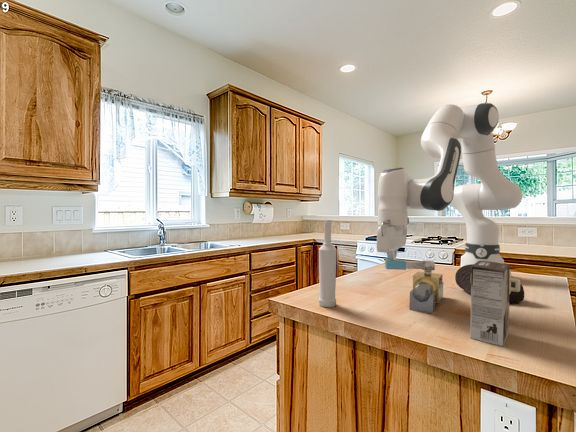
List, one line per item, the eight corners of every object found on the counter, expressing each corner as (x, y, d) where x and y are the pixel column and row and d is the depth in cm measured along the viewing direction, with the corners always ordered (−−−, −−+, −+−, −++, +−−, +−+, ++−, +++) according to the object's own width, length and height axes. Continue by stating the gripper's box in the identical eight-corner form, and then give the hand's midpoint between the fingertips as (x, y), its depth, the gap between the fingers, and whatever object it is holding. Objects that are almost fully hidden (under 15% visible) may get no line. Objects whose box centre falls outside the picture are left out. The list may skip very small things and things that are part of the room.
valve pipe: (421, 293, 103) (422, 264, 102) (445, 297, 99) (445, 266, 98) (407, 309, 86) (407, 275, 86) (434, 314, 82) (435, 278, 82)
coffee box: (476, 326, 74) (478, 260, 74) (509, 333, 70) (511, 263, 69) (468, 338, 67) (470, 265, 67) (504, 347, 63) (506, 269, 62)
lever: (432, 268, 94) (432, 260, 94) (436, 271, 90) (436, 262, 90) (384, 267, 96) (384, 259, 95) (386, 269, 92) (386, 260, 92)
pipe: (527, 281, 89) (503, 263, 103) (470, 281, 93) (454, 264, 107) (525, 311, 91) (502, 290, 105) (469, 311, 94) (454, 290, 109)
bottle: (338, 307, 88) (339, 220, 88) (321, 308, 87) (322, 220, 87) (332, 301, 93) (333, 219, 93) (316, 302, 92) (316, 219, 92)
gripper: (393, 221, 86) (392, 270, 86) (410, 218, 102) (409, 259, 103) (371, 220, 89) (370, 267, 89) (391, 218, 106) (390, 258, 106)
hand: (391, 263), depth 96 cm, fingers closed
